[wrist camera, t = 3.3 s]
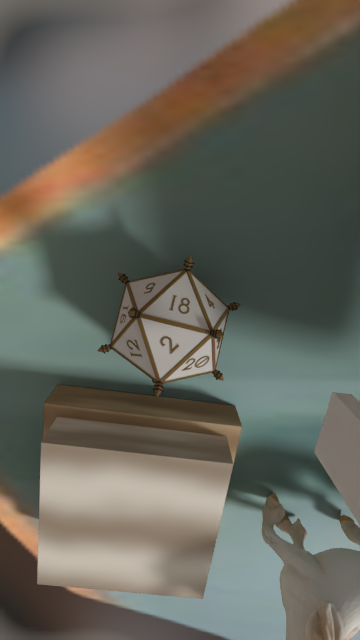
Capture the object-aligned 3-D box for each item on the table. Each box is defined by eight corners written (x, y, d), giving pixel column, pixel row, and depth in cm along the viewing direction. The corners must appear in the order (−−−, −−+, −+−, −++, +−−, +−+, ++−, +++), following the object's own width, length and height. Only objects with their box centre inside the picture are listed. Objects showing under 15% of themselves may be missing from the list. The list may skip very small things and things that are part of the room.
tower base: (58, 384, 27) (25, 427, 21) (235, 405, 28) (250, 453, 22) (52, 523, 31) (24, 592, 25) (206, 539, 32) (212, 608, 26)
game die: (189, 286, 28) (287, 284, 20) (166, 382, 28) (259, 418, 20) (95, 249, 23) (178, 226, 15) (64, 365, 22) (133, 406, 14)
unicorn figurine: (192, 517, 31) (203, 723, 18) (390, 443, 29) (559, 617, 16) (221, 567, 33) (249, 785, 20) (408, 501, 31) (574, 698, 18)
